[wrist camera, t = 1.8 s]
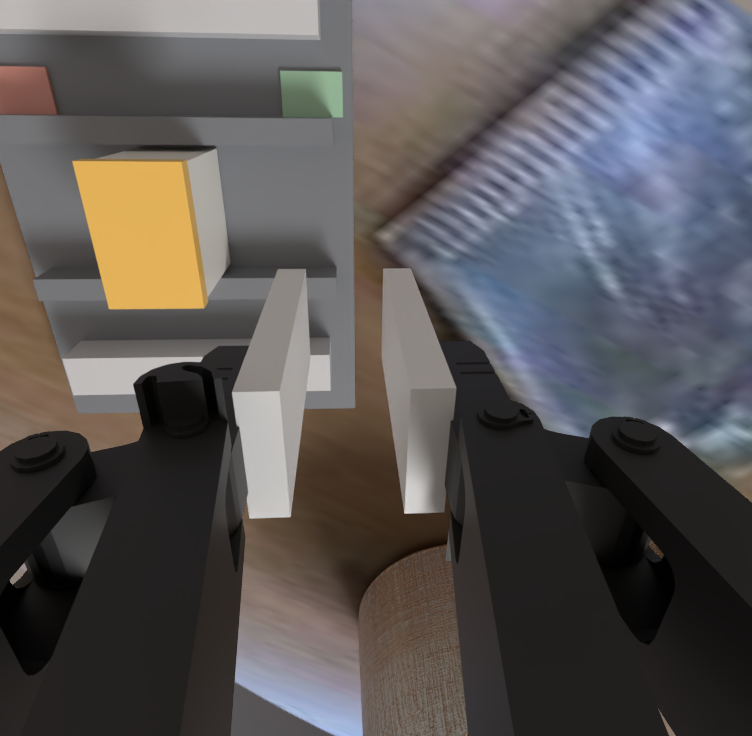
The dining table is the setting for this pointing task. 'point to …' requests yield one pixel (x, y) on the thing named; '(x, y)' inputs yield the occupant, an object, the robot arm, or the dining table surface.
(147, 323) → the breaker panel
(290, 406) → the robot arm
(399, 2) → the dining table surface
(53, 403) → the dining table surface
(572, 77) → the dining table surface
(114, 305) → the block
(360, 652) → the planter
